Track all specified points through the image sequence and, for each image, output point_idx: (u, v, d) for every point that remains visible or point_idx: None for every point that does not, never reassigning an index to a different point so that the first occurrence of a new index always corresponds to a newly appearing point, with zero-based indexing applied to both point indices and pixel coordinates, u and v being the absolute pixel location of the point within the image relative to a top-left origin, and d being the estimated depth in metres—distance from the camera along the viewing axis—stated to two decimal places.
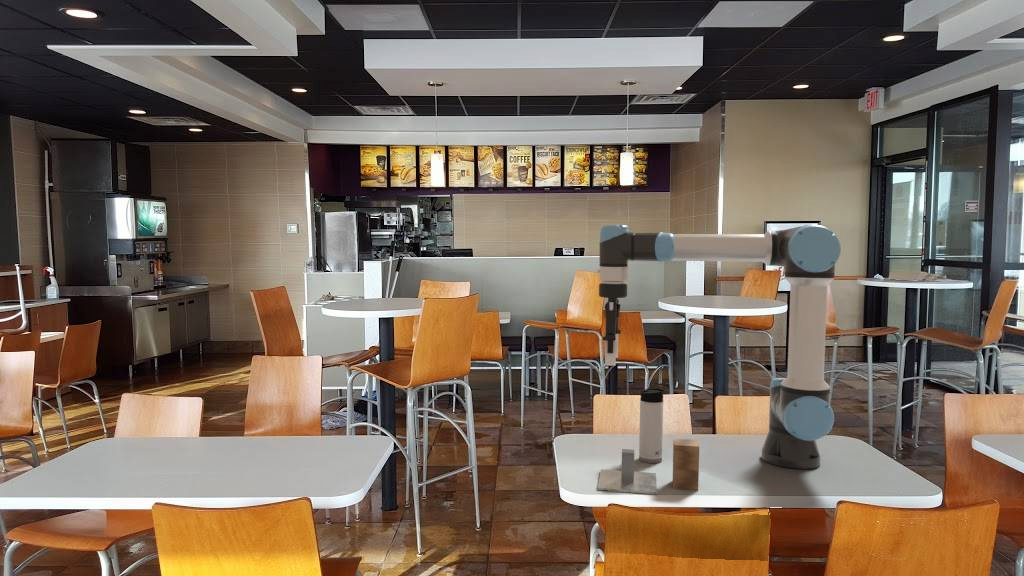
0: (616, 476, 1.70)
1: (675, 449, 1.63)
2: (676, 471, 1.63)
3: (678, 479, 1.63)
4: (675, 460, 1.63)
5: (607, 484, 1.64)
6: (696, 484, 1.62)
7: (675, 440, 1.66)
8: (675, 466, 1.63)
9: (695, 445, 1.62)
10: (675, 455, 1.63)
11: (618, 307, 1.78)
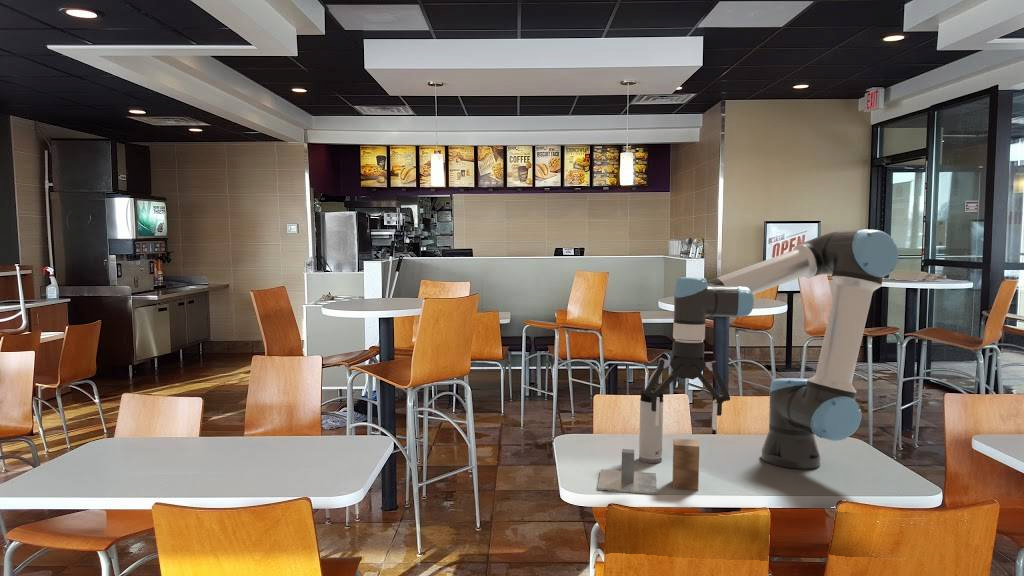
0: (616, 476, 1.70)
1: (675, 449, 1.63)
2: (676, 471, 1.63)
3: (678, 479, 1.63)
4: (675, 460, 1.63)
5: (607, 484, 1.64)
6: (696, 484, 1.62)
7: (675, 440, 1.66)
8: (675, 466, 1.63)
9: (695, 445, 1.62)
10: (675, 455, 1.63)
11: (679, 367, 1.63)
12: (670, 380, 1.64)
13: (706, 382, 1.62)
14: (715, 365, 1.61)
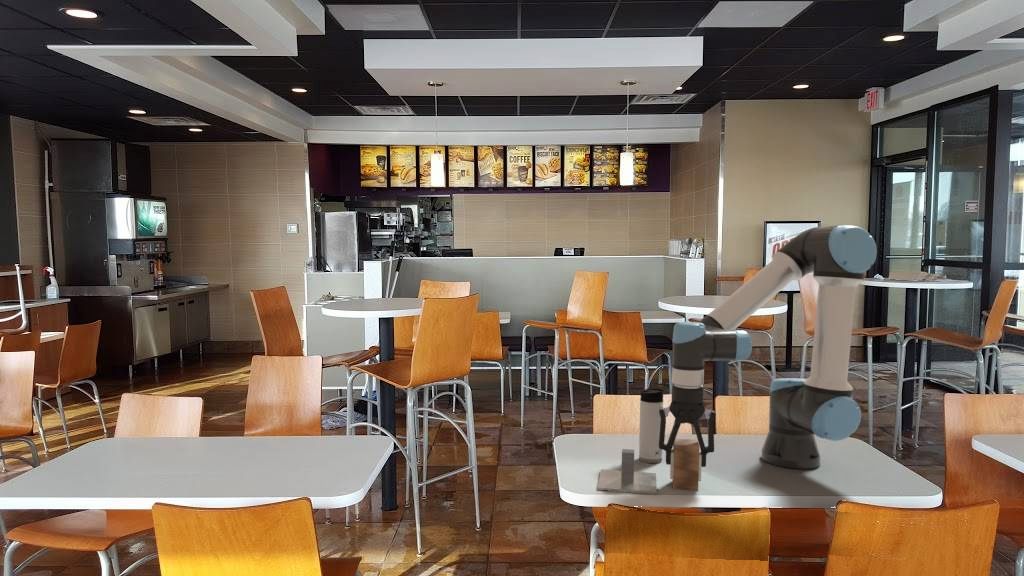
0: (616, 476, 1.70)
1: (675, 449, 1.63)
2: (676, 471, 1.63)
3: (678, 479, 1.63)
4: (675, 460, 1.63)
5: (607, 484, 1.64)
6: (696, 484, 1.62)
7: (675, 440, 1.66)
8: (675, 466, 1.63)
9: (695, 445, 1.62)
10: (675, 455, 1.63)
11: (678, 413, 1.63)
12: (676, 428, 1.64)
13: (698, 430, 1.63)
14: (713, 415, 1.62)
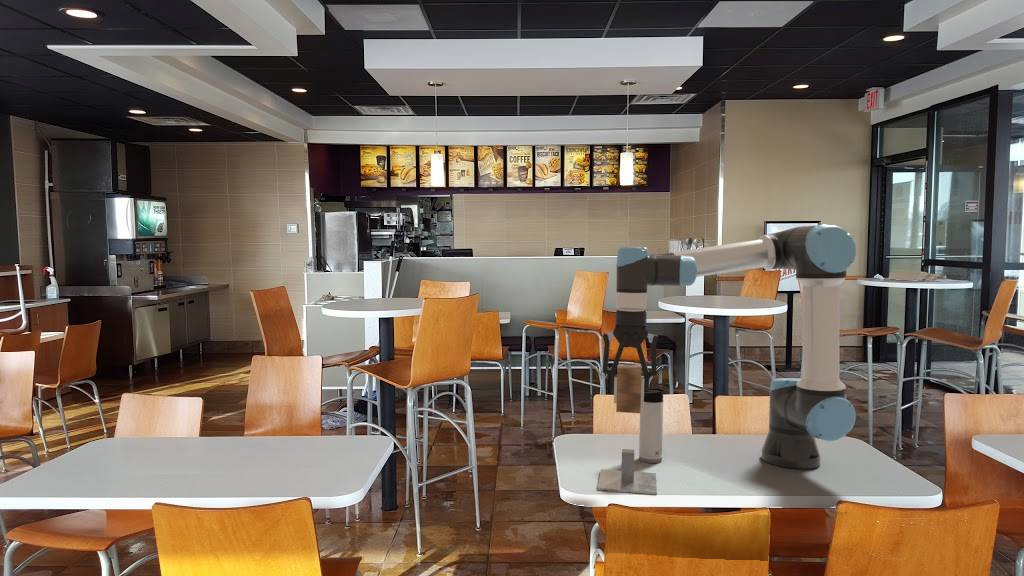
0: (616, 476, 1.70)
1: (618, 372, 1.63)
2: (619, 394, 1.63)
3: (620, 402, 1.63)
4: (618, 383, 1.63)
5: (607, 484, 1.64)
6: (638, 407, 1.63)
7: (619, 365, 1.67)
8: (618, 389, 1.63)
9: (638, 368, 1.63)
10: (618, 378, 1.63)
11: (622, 337, 1.64)
12: (619, 352, 1.65)
13: (641, 354, 1.64)
14: (656, 339, 1.63)
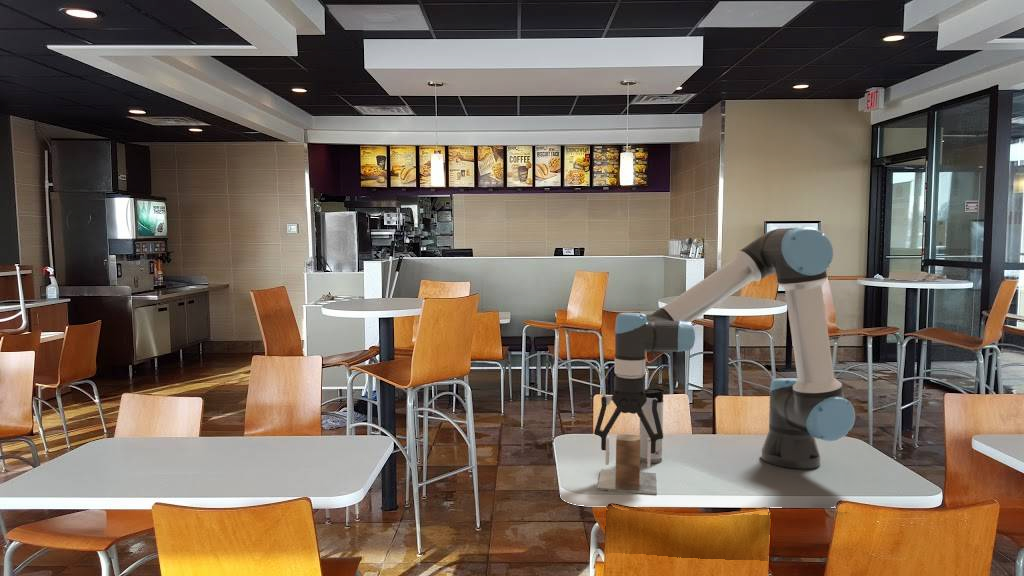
0: None
1: (617, 444, 1.64)
2: (618, 466, 1.64)
3: (619, 474, 1.64)
4: (617, 455, 1.64)
5: (607, 484, 1.64)
6: (637, 479, 1.64)
7: (618, 435, 1.68)
8: (617, 461, 1.64)
9: (636, 440, 1.64)
10: (617, 450, 1.64)
11: (620, 402, 1.65)
12: (615, 417, 1.66)
13: (644, 419, 1.64)
14: (655, 402, 1.64)
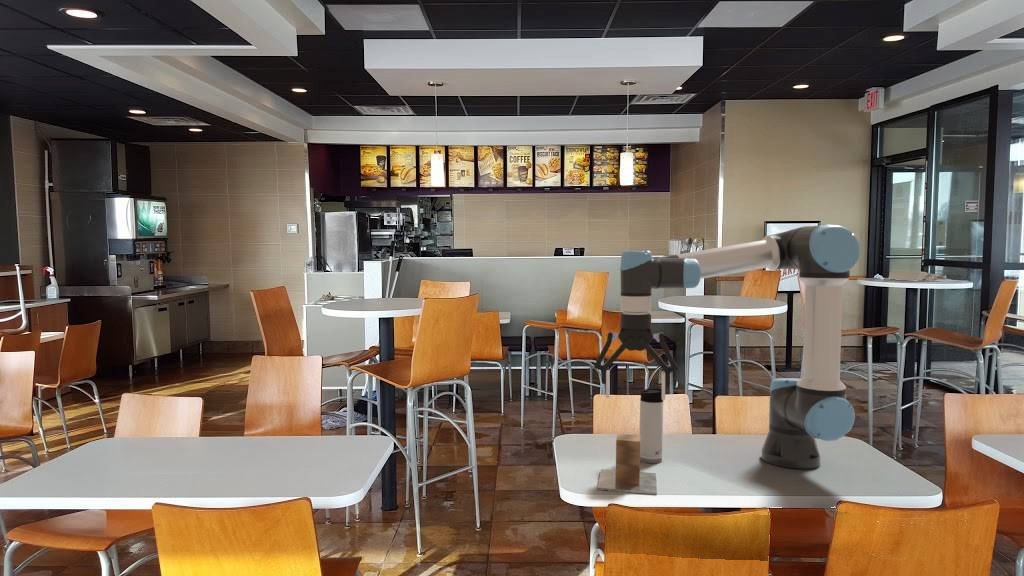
0: None
1: (617, 444, 1.64)
2: (618, 466, 1.64)
3: (619, 474, 1.64)
4: (617, 455, 1.64)
5: (607, 484, 1.64)
6: (637, 479, 1.64)
7: (618, 435, 1.68)
8: (617, 461, 1.64)
9: (636, 440, 1.64)
10: (617, 450, 1.64)
11: (627, 339, 1.65)
12: (619, 352, 1.66)
13: (654, 353, 1.64)
14: (662, 336, 1.64)
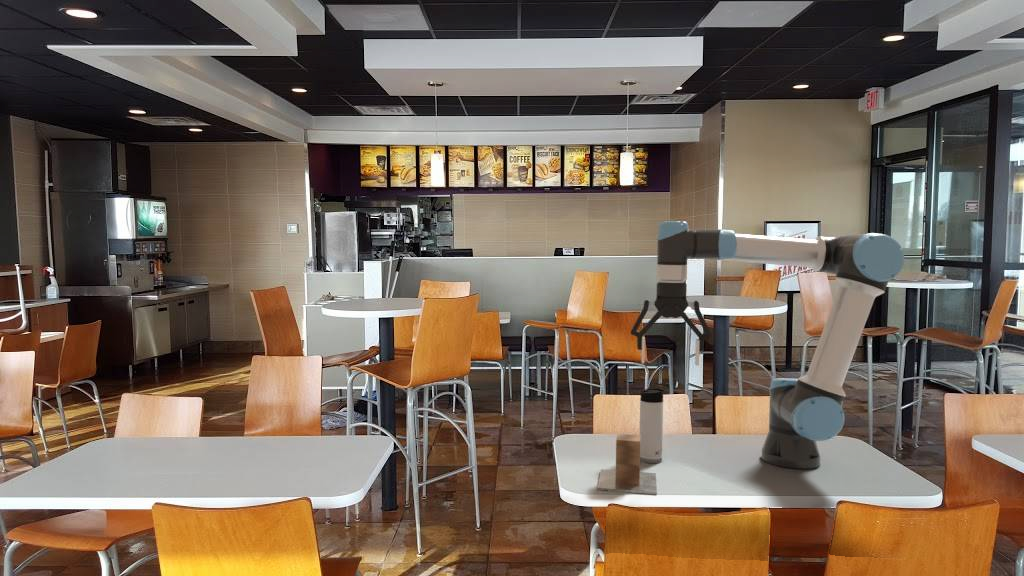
0: None
1: (617, 444, 1.64)
2: (618, 466, 1.64)
3: (619, 474, 1.64)
4: (617, 455, 1.64)
5: (607, 484, 1.64)
6: (637, 479, 1.64)
7: (618, 435, 1.68)
8: (617, 461, 1.64)
9: (636, 440, 1.64)
10: (617, 450, 1.64)
11: (663, 306, 1.71)
12: (655, 319, 1.72)
13: (689, 320, 1.71)
14: (697, 304, 1.70)
